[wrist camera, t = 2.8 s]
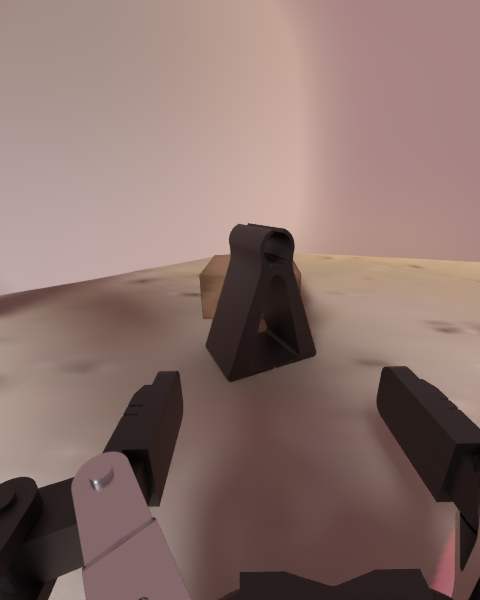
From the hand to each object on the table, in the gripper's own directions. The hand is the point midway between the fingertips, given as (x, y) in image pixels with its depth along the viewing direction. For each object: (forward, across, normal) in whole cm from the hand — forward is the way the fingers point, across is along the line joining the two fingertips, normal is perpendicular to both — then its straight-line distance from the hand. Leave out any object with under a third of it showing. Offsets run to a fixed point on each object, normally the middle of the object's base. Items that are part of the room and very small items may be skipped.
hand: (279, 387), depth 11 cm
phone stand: (+14, 0, +7) cm, 16 cm away
